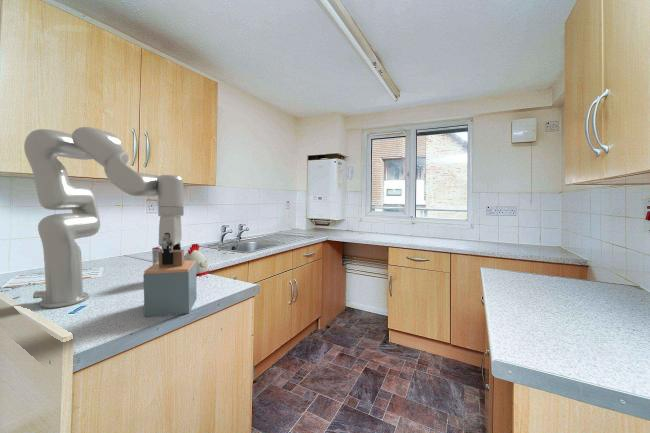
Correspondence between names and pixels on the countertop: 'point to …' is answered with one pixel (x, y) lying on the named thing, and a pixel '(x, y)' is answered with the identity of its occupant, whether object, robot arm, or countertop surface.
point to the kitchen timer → (197, 260)
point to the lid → (176, 267)
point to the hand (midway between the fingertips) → (172, 261)
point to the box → (169, 293)
